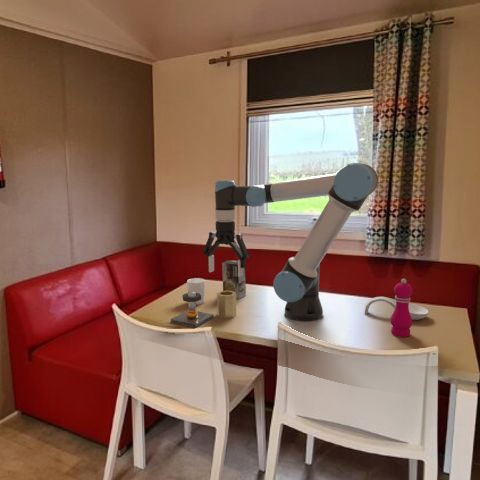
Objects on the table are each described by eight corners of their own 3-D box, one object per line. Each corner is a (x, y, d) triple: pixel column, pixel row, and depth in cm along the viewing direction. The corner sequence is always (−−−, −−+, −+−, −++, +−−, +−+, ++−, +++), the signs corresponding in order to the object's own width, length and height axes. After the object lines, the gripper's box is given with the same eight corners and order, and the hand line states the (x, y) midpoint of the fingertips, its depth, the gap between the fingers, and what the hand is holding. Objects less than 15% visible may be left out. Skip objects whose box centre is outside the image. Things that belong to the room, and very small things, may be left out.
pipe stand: (213, 317, 159) (213, 290, 157) (196, 327, 149) (195, 299, 147) (189, 312, 165) (188, 286, 163) (170, 322, 155) (169, 294, 153)
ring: (204, 297, 157) (204, 294, 156) (193, 302, 151) (193, 298, 151) (190, 295, 160) (189, 291, 160) (179, 300, 154) (179, 296, 154)
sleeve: (239, 313, 163) (238, 292, 162) (229, 319, 157) (229, 297, 156) (224, 310, 167) (223, 289, 165) (214, 316, 161) (214, 294, 159)
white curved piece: (426, 314, 161) (427, 297, 160) (430, 324, 150) (431, 306, 149) (364, 308, 168) (365, 292, 167) (364, 318, 157) (365, 301, 156)
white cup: (207, 299, 181) (206, 278, 179) (203, 305, 173) (203, 283, 172) (189, 299, 182) (189, 277, 180) (185, 305, 174) (185, 282, 172)
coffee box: (246, 295, 187) (246, 261, 184) (239, 299, 181) (238, 264, 179) (230, 292, 192) (229, 259, 189) (222, 296, 186) (221, 262, 183)
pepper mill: (406, 329, 145) (409, 275, 142) (415, 337, 138) (419, 281, 135) (386, 329, 145) (389, 276, 142) (394, 338, 138) (398, 281, 135)
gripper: (258, 221, 152) (258, 275, 156) (204, 217, 165) (205, 267, 168) (248, 223, 146) (248, 280, 150) (193, 219, 158) (194, 271, 162)
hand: (225, 273), depth 159 cm, fingers open, 13 cm apart
